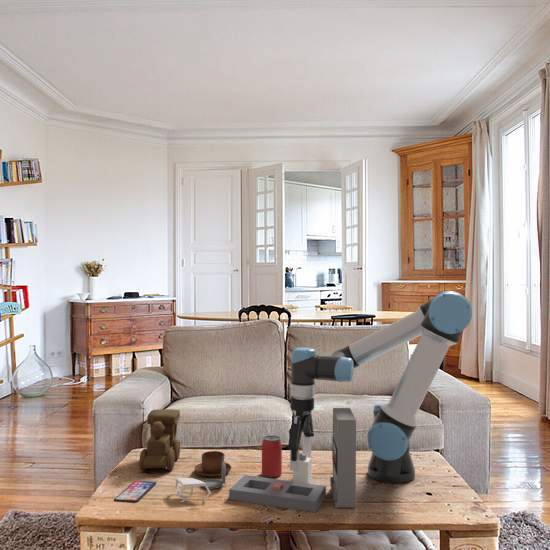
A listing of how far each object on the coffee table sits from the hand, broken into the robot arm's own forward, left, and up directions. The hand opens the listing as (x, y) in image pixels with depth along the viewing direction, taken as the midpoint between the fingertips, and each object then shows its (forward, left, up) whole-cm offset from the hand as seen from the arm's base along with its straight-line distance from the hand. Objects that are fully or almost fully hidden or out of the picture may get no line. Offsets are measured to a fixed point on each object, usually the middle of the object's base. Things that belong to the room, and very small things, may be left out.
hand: (300, 463), depth 179 cm
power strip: (+3, +15, -6) cm, 16 cm away
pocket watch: (+24, +13, -6) cm, 28 cm away
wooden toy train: (+50, +2, -6) cm, 50 cm away
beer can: (+11, -2, -6) cm, 12 cm away
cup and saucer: (+29, +3, -6) cm, 30 cm away
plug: (0, 0, -6) cm, 6 cm away
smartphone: (+44, +25, -6) cm, 51 cm away
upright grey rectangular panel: (-15, +9, -6) cm, 19 cm away
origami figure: (+26, +24, -6) cm, 36 cm away
